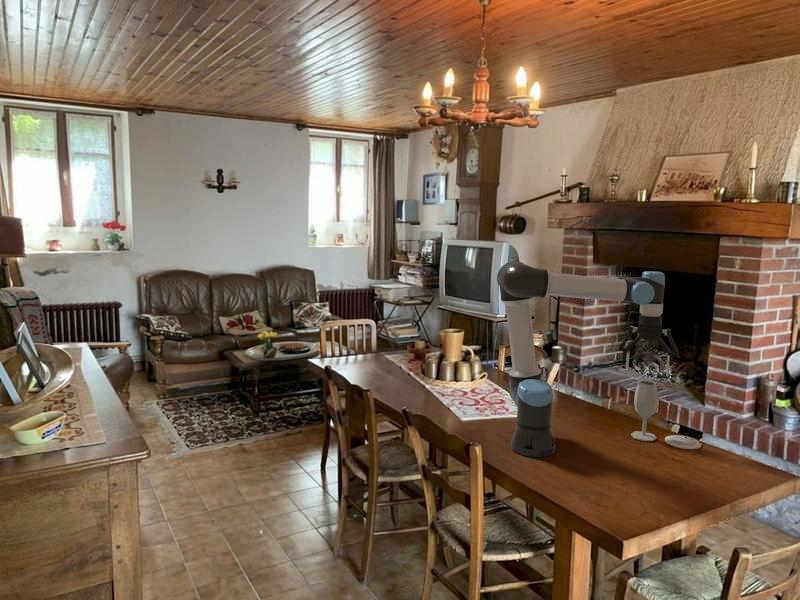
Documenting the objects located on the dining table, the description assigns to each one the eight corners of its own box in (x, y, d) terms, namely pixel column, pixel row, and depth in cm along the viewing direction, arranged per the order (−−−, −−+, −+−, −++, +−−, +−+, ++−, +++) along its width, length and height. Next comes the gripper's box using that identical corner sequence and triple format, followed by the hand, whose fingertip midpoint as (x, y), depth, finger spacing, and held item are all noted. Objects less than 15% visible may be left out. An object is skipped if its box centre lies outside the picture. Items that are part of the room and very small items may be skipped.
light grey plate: (682, 451, 208) (682, 449, 208) (657, 438, 219) (657, 437, 219) (709, 447, 212) (709, 445, 212) (683, 435, 223) (683, 433, 223)
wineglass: (656, 435, 222) (660, 381, 219) (655, 443, 214) (660, 387, 212) (631, 432, 226) (635, 378, 223) (630, 439, 218) (633, 383, 215)
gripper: (689, 315, 213) (684, 373, 216) (615, 310, 223) (611, 365, 226) (689, 319, 206) (684, 378, 209) (613, 313, 216) (609, 370, 219)
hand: (646, 372), depth 218 cm, fingers open, 13 cm apart
